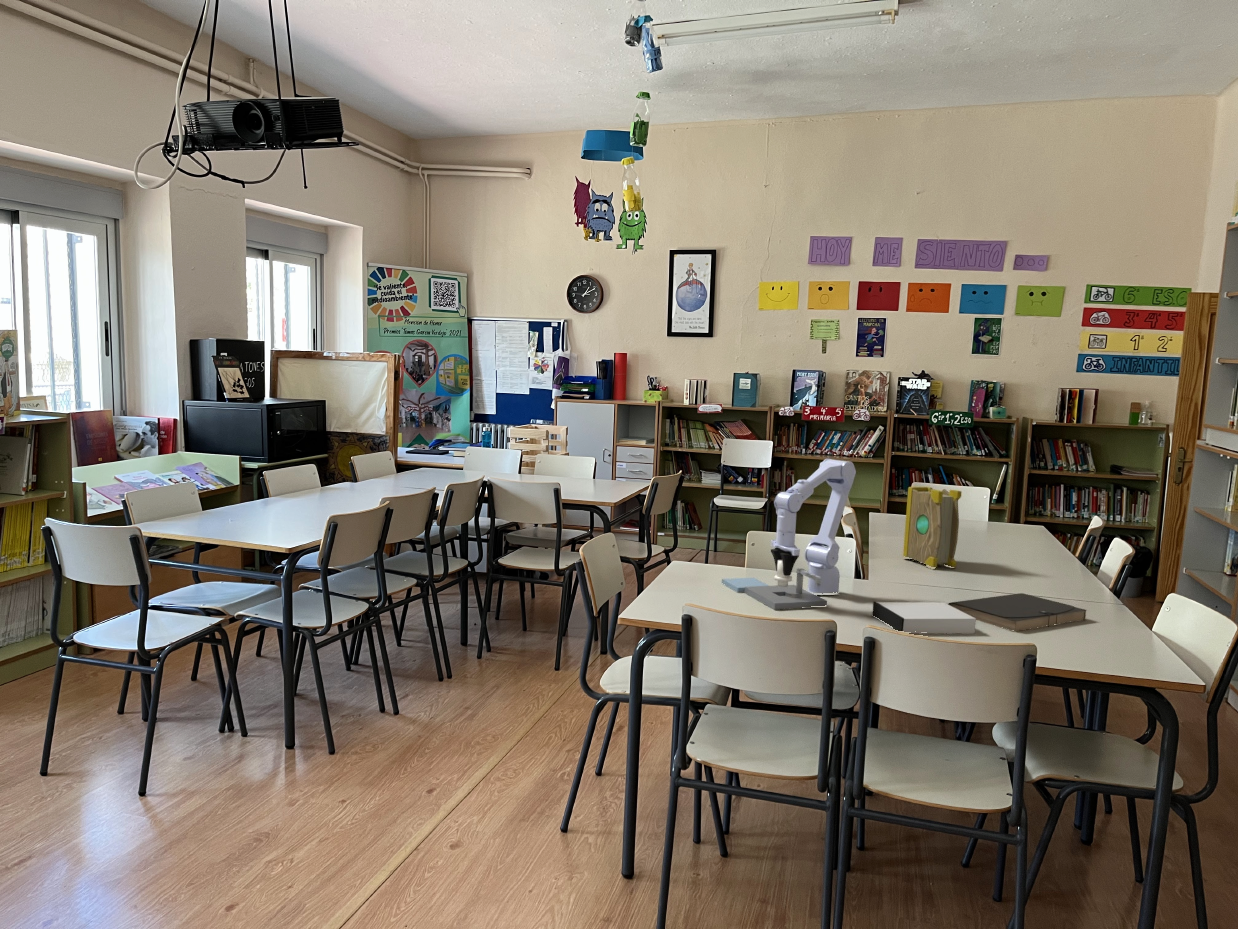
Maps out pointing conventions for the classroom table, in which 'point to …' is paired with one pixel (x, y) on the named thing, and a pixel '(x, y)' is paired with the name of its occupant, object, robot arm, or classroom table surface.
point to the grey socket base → (785, 596)
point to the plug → (782, 575)
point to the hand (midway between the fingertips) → (783, 573)
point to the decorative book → (931, 525)
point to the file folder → (1019, 611)
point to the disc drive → (924, 617)
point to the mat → (742, 583)
